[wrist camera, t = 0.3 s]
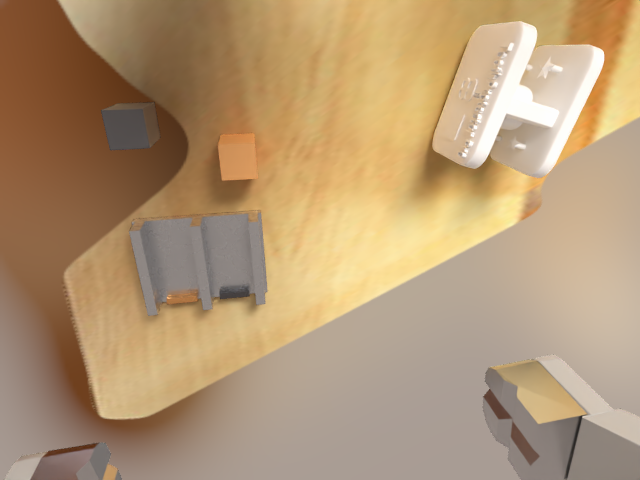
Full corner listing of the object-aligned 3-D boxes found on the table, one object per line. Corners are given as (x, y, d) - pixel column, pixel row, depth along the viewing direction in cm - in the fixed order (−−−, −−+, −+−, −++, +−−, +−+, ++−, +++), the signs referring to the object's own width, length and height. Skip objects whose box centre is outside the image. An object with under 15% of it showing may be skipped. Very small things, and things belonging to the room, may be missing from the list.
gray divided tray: (133, 219, 53) (125, 231, 49) (260, 210, 55) (261, 221, 51) (151, 299, 58) (144, 316, 54) (267, 288, 60) (268, 303, 56)
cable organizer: (491, 164, 58) (544, 189, 47) (422, 145, 55) (463, 168, 45) (540, 49, 52) (614, 49, 42) (467, 22, 50) (526, 15, 39)
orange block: (220, 134, 50) (217, 144, 45) (254, 133, 51) (254, 143, 46) (224, 167, 52) (221, 180, 47) (256, 165, 53) (257, 178, 47)
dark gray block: (117, 103, 47) (100, 110, 42) (154, 102, 48) (142, 108, 42) (125, 139, 49) (110, 150, 44) (160, 137, 49) (149, 148, 44)
